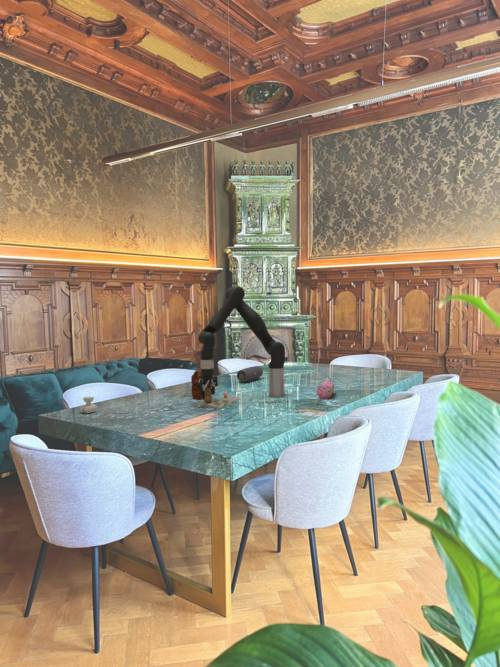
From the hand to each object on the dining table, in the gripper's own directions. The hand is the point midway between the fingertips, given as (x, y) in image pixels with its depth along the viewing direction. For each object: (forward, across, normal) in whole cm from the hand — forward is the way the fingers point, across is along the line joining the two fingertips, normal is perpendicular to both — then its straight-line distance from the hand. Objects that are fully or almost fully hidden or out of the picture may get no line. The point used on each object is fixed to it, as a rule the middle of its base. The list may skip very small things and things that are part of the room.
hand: (208, 395), depth 256 cm
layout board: (+5, +4, -4) cm, 7 cm away
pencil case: (+5, +56, -45) cm, 72 cm away
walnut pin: (+4, 0, 0) cm, 4 cm away
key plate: (+5, +16, -2) cm, 17 cm away
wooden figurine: (+5, +10, +14) cm, 19 cm away
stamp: (+5, -48, +42) cm, 65 cm away
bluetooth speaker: (+5, +74, +26) cm, 78 cm away
